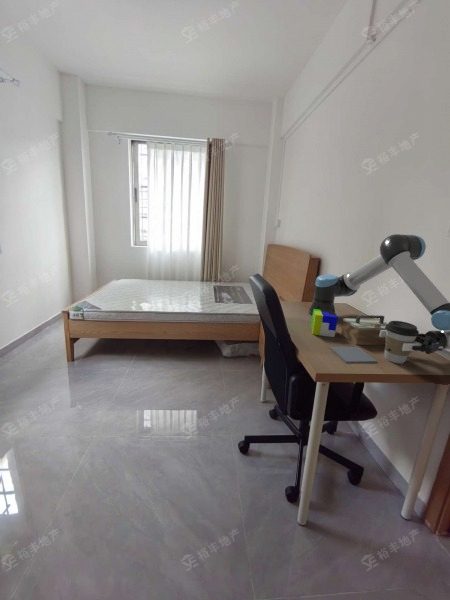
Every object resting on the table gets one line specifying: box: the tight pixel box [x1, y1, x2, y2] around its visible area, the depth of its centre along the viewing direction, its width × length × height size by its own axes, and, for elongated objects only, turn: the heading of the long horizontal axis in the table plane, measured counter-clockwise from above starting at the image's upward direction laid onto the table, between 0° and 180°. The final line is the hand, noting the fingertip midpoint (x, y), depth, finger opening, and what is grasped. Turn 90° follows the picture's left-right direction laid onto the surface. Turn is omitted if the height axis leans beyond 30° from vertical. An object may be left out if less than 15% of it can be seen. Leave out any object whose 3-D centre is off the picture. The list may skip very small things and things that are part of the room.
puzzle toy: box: [310, 309, 339, 338], centre depth 135 cm, size 10×10×10 cm
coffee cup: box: [384, 320, 420, 364], centre depth 109 cm, size 11×11×15 cm
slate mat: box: [329, 346, 378, 364], centre depth 112 cm, size 13×13×1 cm
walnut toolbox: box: [340, 314, 389, 346], centre depth 129 cm, size 13×19×12 cm
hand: (391, 339), depth 108 cm, fingers open, 12 cm apart
